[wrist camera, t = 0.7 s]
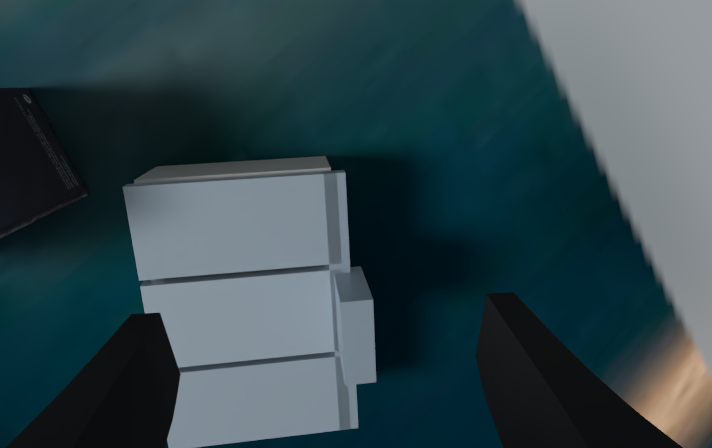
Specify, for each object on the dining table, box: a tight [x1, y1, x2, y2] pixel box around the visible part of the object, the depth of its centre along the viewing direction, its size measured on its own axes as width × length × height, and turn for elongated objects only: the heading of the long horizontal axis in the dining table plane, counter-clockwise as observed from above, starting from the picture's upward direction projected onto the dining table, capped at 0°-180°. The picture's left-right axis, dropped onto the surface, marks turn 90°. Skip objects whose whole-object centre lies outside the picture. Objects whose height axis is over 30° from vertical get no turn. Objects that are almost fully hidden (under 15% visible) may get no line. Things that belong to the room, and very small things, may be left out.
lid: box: [123, 170, 376, 448], centre depth 23 cm, size 14×10×4 cm
